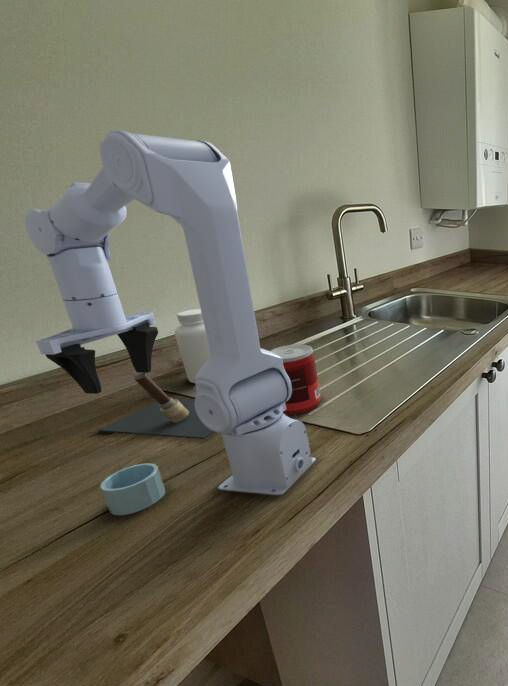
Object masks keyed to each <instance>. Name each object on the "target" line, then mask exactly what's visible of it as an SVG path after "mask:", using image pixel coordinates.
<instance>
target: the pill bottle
mask: <svg viewBox="0 0 508 686" xmlns="http://www.w3.org/2000/svg"><path fill="white" fill-rule="evenodd" d="M176 317H177V320H178V322H179V324H180V325H179V326H178V327H176V329H175V330H174V337H175V340H176V344H177V347H178V351H179V354H180V357H181V361H182V364H183V367H184V371H185V374H186V378H187V379H188V381H189V382H190V383H192V384H196V383H195V379H194V378H195V376H196V374H197V373H198V372H199V370H200V369H201V368H202V366H203V365H204V364H205V363H206V361H207V360H208V359H209V357H210V355H211V354H210V350H209V345H208V341H207V336H206V331H205V327H204V322H203V317H202V313H201V308H194V309H189V310H184V311H180V312H178V313H177V314H176Z"/></svg>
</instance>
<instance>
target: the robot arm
mask: <svg viewBox="0 0 508 686" xmlns="http://www.w3.org/2000/svg"><path fill="white" fill-rule="evenodd" d="M99 154H100V160H101V164H102V166H101V168H100V169H99V171H98V172H97V174H96V176H95V177H94V178H93V180H92V181H91V182H90V183H89V182H72V183H71V184H70V185H69V186H68V187H69V188H68V189H67V191H65V193H64V194H63V195H62V196H61V197H60V198H59V199H58V200H57V201H56V202H54V204H53V205H52V206H51V207H50V209H48V210H47V209H46V210H45V209H44V210H42V209H40V208H31V209H28V210H27V213H26V215H25V217H24V227H25V230H26V233H27V236H28V238H29V240H30V242H31V243H32V245H33V246H34V247H35V249H37V251H39V252H40V253H41V254H43V255H46V258H47V260H48V264H49V266H50V268H51V271H52V274H53V277H54V280H55V282H56V285H57V288H58V290H59V294H60V296H61V299H62V302H63V305H64V307H65V310H66V313H67V315H68V318H69V320H70V323H71V325H72V326H71V328H70V329H67V330H64V331H61V332H59V333H56V334H53V335H50V336H47V337H45V338H41V339H37V340H36V341H35V342H36V344H37V347H38V350H39V353H40V354H41V355H45V357H46V359H48V360H50V361H51V362H53V363H54V364H56V365H57V366H59V367H60V368H61V369H63V370H64V371H65V372H66V373H67V374H68V375H69V376H70V377H71V378H72V379H73V380H74V381H75V383H77V384H78V386H80V388H81V390H82V391H83V392H84V394H91V395H92V394H93V395H96V394H99V393H102V385H101V381H100V377H99V375H98V372H97V366H96V350H95V349H87V348H85V346H82V345H86V344H89V343H93V342H95V341H99V340H102V339H106V338H109V337H112V336H118V338H119V339H120V340H121V342H122V344H123V345H124V347H125V349H126V351H127V353H128V356H129V358H130V362H131V363H132V366H133V369H134V370H135V372H136V373H141V374H142V373H146V374H147V373H151V372H152V357H153V350H154V349H153V348H154V345H155V341H156V338H157V336H158V335H159V329H158V327H157V326H153V325H156V324H157V321H156V319H155V318H156V317H155V315H154V312H145V311H144V312H138V313H134V314H129V315H125V312H124V309H123V305H122V302H121V299H120V297H119V293H118V291H117V287H116V284H115V280H114V278H113V275H112V272H111V269H110V265H109V263H110V262H111V261H112V255H111V252H110V245H111V238H110V237H111V236H110V233H111V232H112V231H114V229H117V227H118V226H120V224H122V223H123V222H124V221H125V220H126V218H127V213H128V211H127V205H129V204H130V203H131V202H133V201H138V202H139V203H141V204H143V205H144V206H146V207H147V208H149V209H151V210H153V211H154V212H156V213H159V214H163V215H165V216H169V217H171V219H173V220H174V221H175V222H176V223H178V224H179V225H180V226H181V227H182V229H183V234H184V239H185V242H186V243H185V244H186V247H187V253H188V257H189V262H190V266H191V271H192V275H193V279H194V285H195V289H196V295H197V298H198V299H197V300H198V303H199V309H201V313H202V317H203V322H204V327H205V331H206V336H207V341H208V345H209V350H210V354H211V355H210V357H209V359H208V360H207V361H206V363H205V364H204V365H203V366H202V368H201V369H200V370H199V372H198V373H197V374H196V376H195V378H194V379H195V383H194V384H195V396H194V400H195V403H194V404H195V410H196V413H197V415H198V417H199V419H200V420H201V421H202V423H203V424H204V425H205V426H206V427H208V428H209V429H210V430H212V431H215V432H214V433H218V434H220V435H221V438H222V441H223V445H224V449H225V452H226V456H227V460H228V463H229V464H228V465H229V468H230V471H231V475H230V476H229V477H228V478H226V479H225V480H224V481H223V482H221V484H219V486H217V489H218V490H219V491H226V492H237V493H238V492H239V493H247V494H248V493H250V494H258V495H259V494H260V495H270V496H283V495H284V494H285V493H286V492H287V491H288V490H289V489H290V488H291V487H292V486H293V485H294V484H295V483H296V482H297V481H298V480H299V478H300V477H301V476H302V475H304V473H305V472H306V471H307V470H308V469H309V468H310V467H311V466H312V465H314V463H315V462H316V460H317V459H316V457H314V456H313V457H312V452H311V448H310V447H311V446H310V442H309V436H308V430H307V428H306V425H305V424H304V423H303V421H301V420H298V419H294V418H291V417H289V416H287V414H284V413H283V411H285V410H286V404H285V402H287V401H288V400H289V399H290V397H291V394H292V386H291V381H290V379H289V377H288V375H287V373H286V371H285V369H284V366H283V360H282V358H281V357H280V356H278V355H276V354H275V353H273V352H270V351H271V350H267V349H265V348H261V344H260V343H261V342H260V337H259V332H258V326H257V321H256V320H257V319H256V315H255V314H256V313H255V308H254V307H255V306H254V302H253V296H252V290H251V284H250V279H249V274H248V266H247V262H246V255H245V249H244V244H243V243H244V242H243V238H242V233H241V226H240V219H239V214H238V208H239V207H238V202H237V197H236V196H237V195H236V191H235V184H234V179H233V178H234V177H233V171H232V165H231V161H230V159H229V158H227V157H226V156H225V155H224V154H223V153H222V152H221V151H220V150H219V149H218V148H217V147H216V146H215V145H213V143H211V142H209V141H206V140H201V139H197V140H192V139H191V140H190V139H182V138H176V137H175V138H174V137H165V136H158V135H150V134H141V133H133V132H129V131H126V130H122V129H113V130H110V131H109V132H107V134H105V136H104V139H103V140H102V141H101V142H99Z"/></svg>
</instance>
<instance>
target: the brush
mask: <svg viewBox="0 0 508 686" xmlns="http://www.w3.org/2000/svg"><path fill="white" fill-rule="evenodd" d="M134 381H135V382H136V383H137V384H138V385H139V386H140V387H141V388H142V389H143V390H145V391H146V392H147V393H148V394H149V396H151V397H152V399H154V400H155V402H156V401H157V402H158V403H159V406H160V407H161V408H160V411H161V412H162V413H163V414H164V415H165V416H166V417H167V418H168V419H169V420H170V421H171V422H173V423H177V422H180V421H182V420H183V419H185V418H186V417H187V416H188V414H189V411H188V410H187V409H186V408H185V407H184V406H183V405H182V404H181V403H180V402H179V401H178V400H177V399H172V398H173V397H171V396H169V395H168V394H166V392H164V390H163V389H162V388H161V387H160V386H159V385H158V384H157V383H156V382H155V381H153V379H152V378H151V377H150V375H148V374H147V373H142V372H141V373H139V374H138V375H136V376H134Z"/></svg>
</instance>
